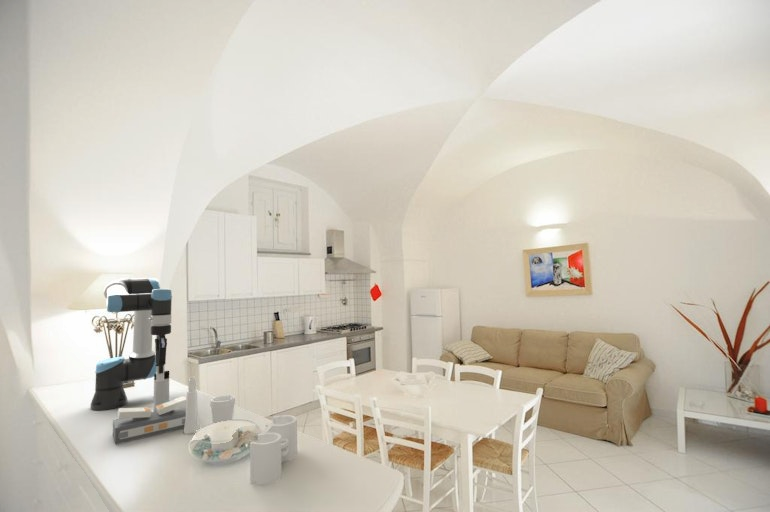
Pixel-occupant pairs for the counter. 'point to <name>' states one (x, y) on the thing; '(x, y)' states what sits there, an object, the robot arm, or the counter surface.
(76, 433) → the counter surface
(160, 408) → the plate
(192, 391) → the cosmetic bottle
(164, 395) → the travel mug
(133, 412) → the rocker
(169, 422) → the switch unit
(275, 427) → the pair of white mugs
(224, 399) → the foam cup
